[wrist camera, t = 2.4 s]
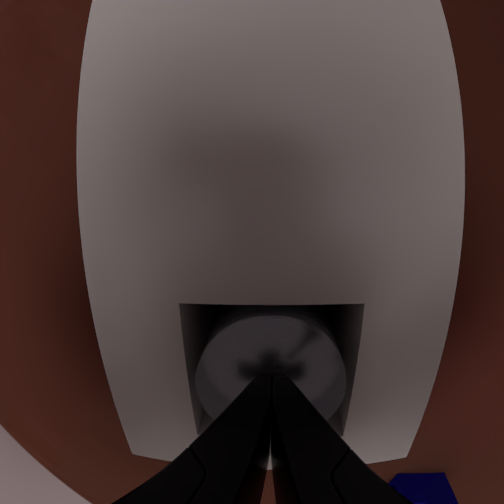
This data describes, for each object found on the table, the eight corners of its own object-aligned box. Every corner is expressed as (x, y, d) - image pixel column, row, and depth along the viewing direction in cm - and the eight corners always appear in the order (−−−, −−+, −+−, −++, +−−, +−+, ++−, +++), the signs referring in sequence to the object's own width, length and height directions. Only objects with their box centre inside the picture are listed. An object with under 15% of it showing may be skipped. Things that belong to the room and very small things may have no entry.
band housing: (364, -57, 9) (387, -117, 4) (375, 384, 13) (406, 457, 9) (162, -52, 9) (129, -109, 5) (168, 382, 14) (132, 453, 9)
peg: (326, 269, 12) (355, 320, 7) (320, 361, 12) (336, 438, 8) (219, 269, 12) (187, 320, 7) (224, 361, 13) (203, 436, 8)
